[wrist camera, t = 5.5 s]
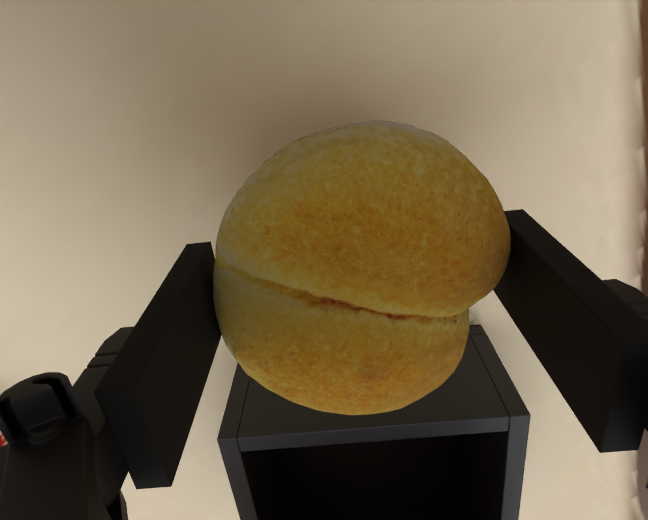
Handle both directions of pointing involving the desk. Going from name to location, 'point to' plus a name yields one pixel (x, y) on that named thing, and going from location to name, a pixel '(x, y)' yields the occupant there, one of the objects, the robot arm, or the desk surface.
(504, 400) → the dark grey open box
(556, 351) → the robot arm
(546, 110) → the desk surface
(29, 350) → the desk surface
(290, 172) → the bread roll
